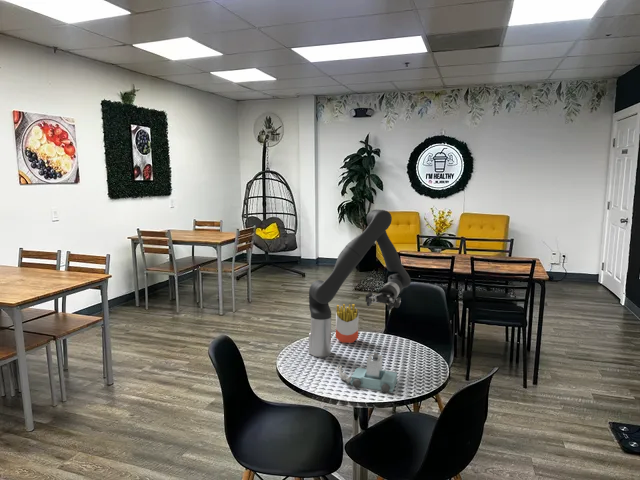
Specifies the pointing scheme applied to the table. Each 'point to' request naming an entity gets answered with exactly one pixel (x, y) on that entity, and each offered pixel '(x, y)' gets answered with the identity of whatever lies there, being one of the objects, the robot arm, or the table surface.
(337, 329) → the french fries container
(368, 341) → the table surface
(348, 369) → the table surface
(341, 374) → the soldier figure
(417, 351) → the table surface
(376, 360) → the knobbed metal block
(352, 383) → the chassis
